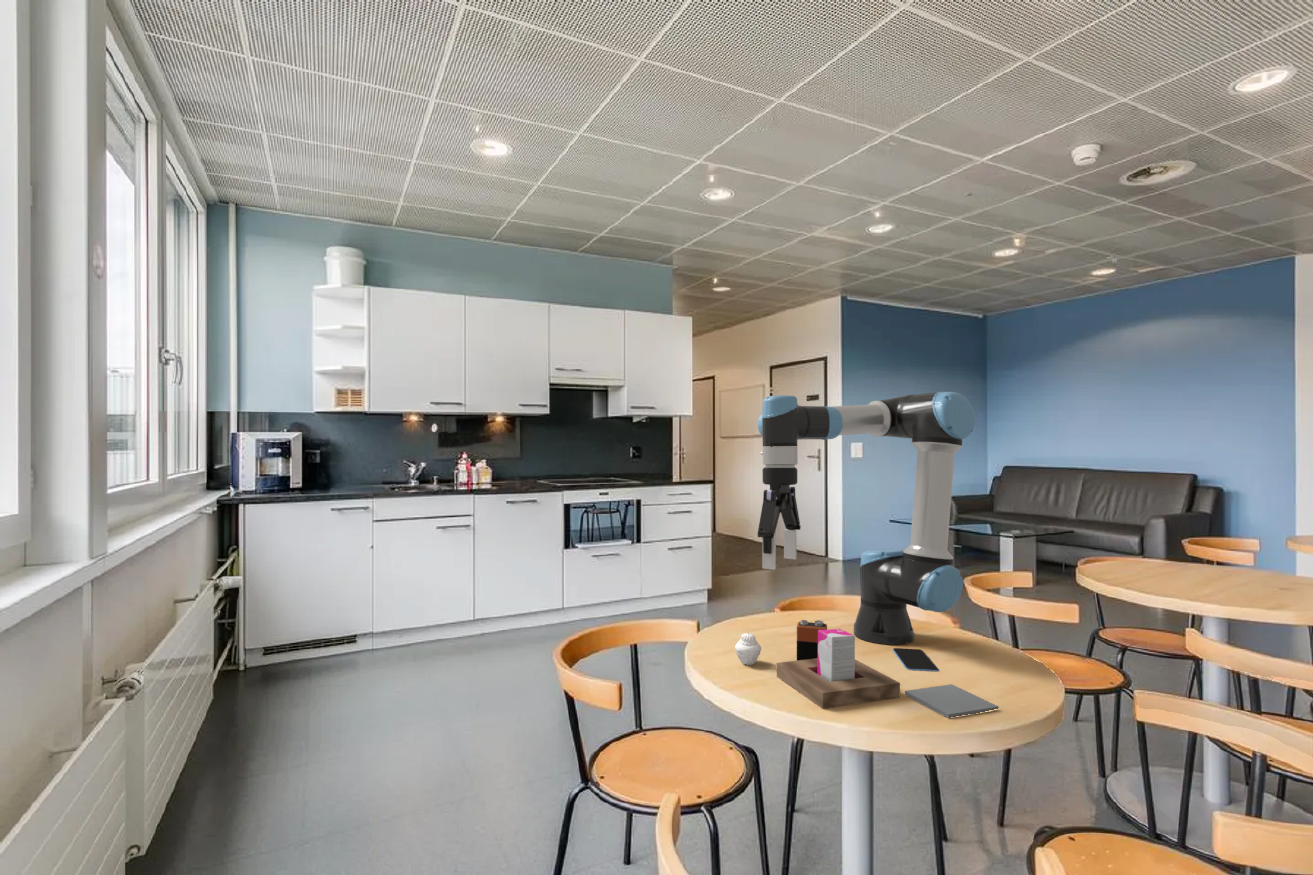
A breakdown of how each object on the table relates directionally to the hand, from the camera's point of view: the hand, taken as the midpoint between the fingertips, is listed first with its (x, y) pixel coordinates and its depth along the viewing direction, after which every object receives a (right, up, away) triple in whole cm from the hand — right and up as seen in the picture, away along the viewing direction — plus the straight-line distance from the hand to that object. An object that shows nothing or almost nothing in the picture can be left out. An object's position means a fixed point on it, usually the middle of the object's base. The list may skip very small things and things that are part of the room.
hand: (780, 563), depth 140 cm
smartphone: (+34, -26, +13) cm, 45 cm away
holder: (+11, -25, -5) cm, 28 cm away
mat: (+31, -25, -13) cm, 42 cm away
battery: (+9, -25, +9) cm, 29 cm away
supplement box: (+11, -25, -5) cm, 28 cm away
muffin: (-6, -25, +10) cm, 28 cm away
